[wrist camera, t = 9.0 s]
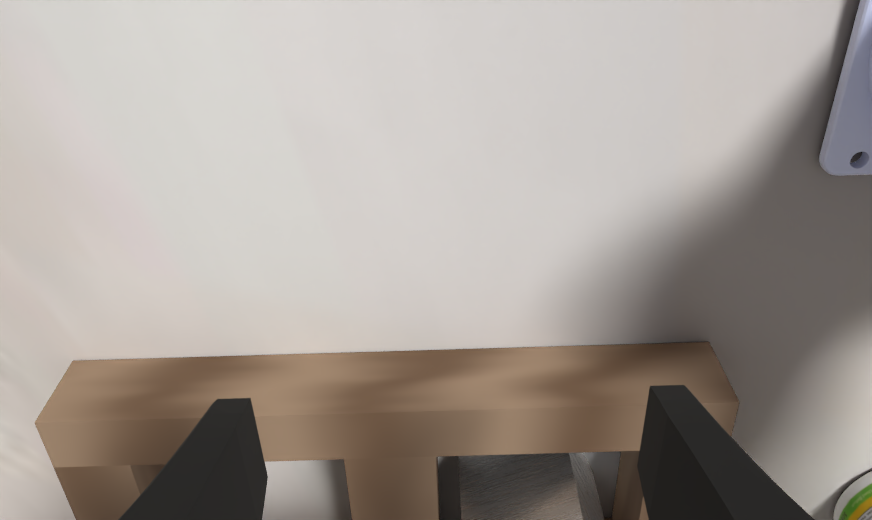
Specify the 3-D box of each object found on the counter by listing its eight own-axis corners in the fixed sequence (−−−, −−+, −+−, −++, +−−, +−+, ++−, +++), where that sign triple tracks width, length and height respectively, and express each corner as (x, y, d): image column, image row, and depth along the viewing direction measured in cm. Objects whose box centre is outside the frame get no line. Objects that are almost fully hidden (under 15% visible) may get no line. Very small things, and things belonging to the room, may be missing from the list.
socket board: (709, 341, 26) (744, 411, 23) (666, 547, 32) (690, 623, 29) (72, 360, 26) (28, 432, 23) (147, 561, 32) (119, 638, 29)
